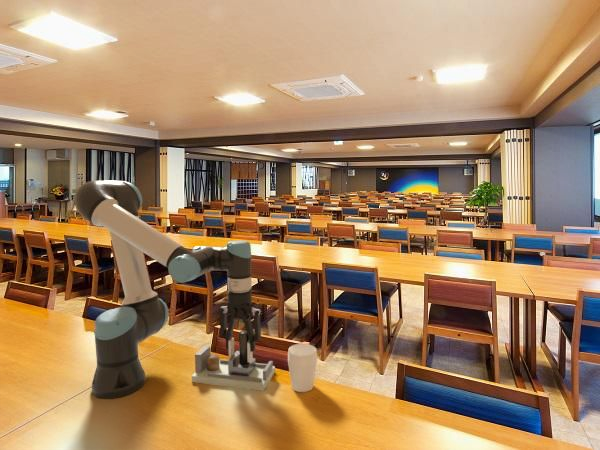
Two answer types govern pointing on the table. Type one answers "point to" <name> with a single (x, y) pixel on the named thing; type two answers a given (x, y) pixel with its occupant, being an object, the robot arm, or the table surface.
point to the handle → (241, 358)
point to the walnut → (213, 362)
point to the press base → (221, 376)
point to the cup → (302, 366)
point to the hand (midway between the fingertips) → (240, 359)
